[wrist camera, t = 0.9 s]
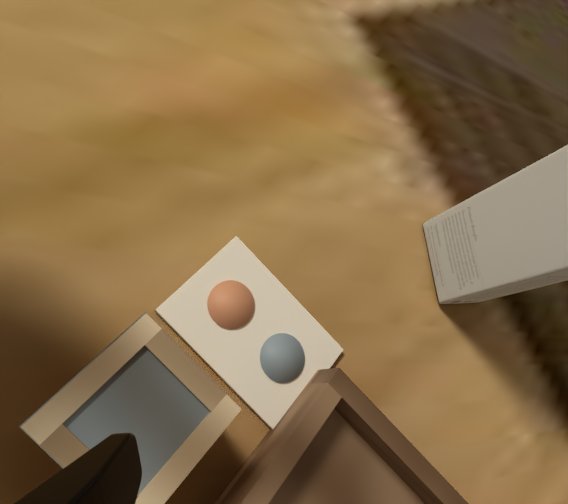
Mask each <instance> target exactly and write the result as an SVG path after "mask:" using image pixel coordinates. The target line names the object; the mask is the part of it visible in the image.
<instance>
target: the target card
mask: <svg viewBox="0 0 568 504" xmlns="http://www.w3.org/2000/svg"><path fill="white" fill-rule="evenodd" d="M155 312H156V313H157V314H158V315H159V316H160V317H161V318H162V319H163V320H164V321H165V322H166V323H167V324H168V325H169V326H170V327H171V328H172V329H173V330H174V331H175V332H176V333H177V334H178V335H179V336H180V337H181V338H182V339H183V340H184V341H185V342H186V343H187V344H188V345H189V346H190V347H191V348H192V349H193V350H194V351H195V352H196V353H197V354H198V355H199V356H200V357H201V358H202V359H203V360H204V361H205V362H206V363H207V364H208V365H209V367H210V368H211V369H212V370H213V371H214V372H215V373H216V374H217V375H218V376H219V377H220V378H221V379H222V380H223V381H224V382H225V383H226V384H227V385H228V386H229V387H230V388H231V389H232V390H233V391H234V392H235V393H236V394H237V395H238V396H239V397H240V398H241V399H242V400H243V401H244V402H245V403H246V404H247V405H248V406H249V407H250V408H251V409H252V410H253V411H254V412H255V413H256V414H257V415H258V416H259V417H260V418H261V419H262V420H263V421H264V422H265V423H266V424H267V425H268V426H269V427H270V428H271V429H274V427H275V426H276V425H277V423H278V422H279V421H280V419H281V418H282V417H283V415H284V414H285V413H286V411H287V410H288V409H289V407H290V406H291V405H292V404H293V402H294V401H295V400H296V398H297V397H298V396H299V394H300V393H301V392H302V390H303V389H304V388H305V386H306V385H307V384H308V382H309V381H310V380H311V378H312V377H313V376H314V374H315V373H316V372H317V370H320V369H330V367H331V366H332V365H333V363H334V362H335V361H336V359H337V358H338V356H339V355H340V354H341V352H342V351H343V350H344V349H343V348H342V347H341V346H340V345H339V344H338V343H337V342H336V341H335V340H334V339H333V338H332V337H331V336H330V335H329V334H328V333H327V331H326V330H325V329H324V328H323V327H322V326H321V325H320V324H319V323H318V322H317V321H316V320H315V319H314V318H313V317H312V316H311V315H310V313H309V312H308V311H307V310H306V309H305V308H304V307H303V306H302V305H301V304H300V303H299V302H298V301H297V300H296V299H295V298H294V296H293V295H292V294H291V293H290V292H289V291H288V290H287V289H286V288H285V287H284V286H283V285H282V284H281V283H280V282H279V281H278V280H277V278H276V277H275V276H274V275H273V274H272V273H271V272H270V271H269V270H268V269H267V268H266V267H265V266H264V265H263V264H262V263H261V262H260V260H259V259H258V258H257V257H256V256H255V255H254V254H253V253H252V252H251V251H250V250H249V249H248V248H247V247H246V246H245V245H244V244H243V242H242V241H241V240H240V239H239V238H238V237H237V236H236V237H235V238H233V239H232V240H231V241H230V242H229V243H228V244H227V245H226V246H225V247H224V248H223V249H221V250H220V251H219V252H218V253H217V254H216V255H215V256H214V257H213V258H212V259H210V260H209V261H208V262H207V263H206V264H205V265H204V266H203V267H202V268H201V269H200V270H198V271H197V272H196V273H195V274H194V275H193V276H192V277H191V278H190V279H189V280H187V281H186V282H185V283H184V284H183V285H182V286H181V287H180V288H179V289H178V290H177V291H175V292H174V293H173V294H172V295H171V296H170V297H169V298H168V299H167V300H166V301H164V302H163V303H162V304H161V305H160V306H159V307H158V308H157V309H156V310H155Z"/></svg>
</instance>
